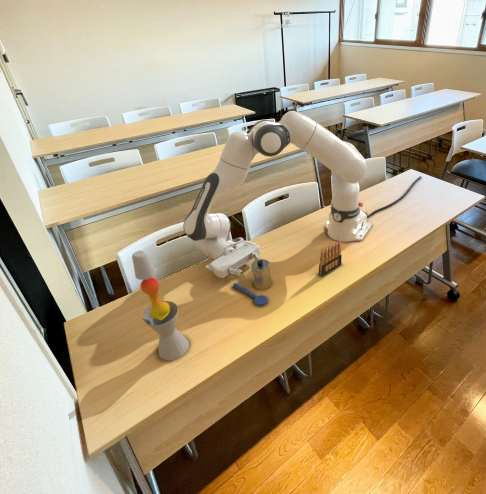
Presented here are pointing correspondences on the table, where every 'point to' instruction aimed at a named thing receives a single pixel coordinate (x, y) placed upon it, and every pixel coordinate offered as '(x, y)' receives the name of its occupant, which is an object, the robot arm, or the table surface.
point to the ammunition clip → (330, 258)
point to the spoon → (253, 295)
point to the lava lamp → (159, 310)
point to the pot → (261, 273)
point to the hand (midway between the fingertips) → (250, 266)
